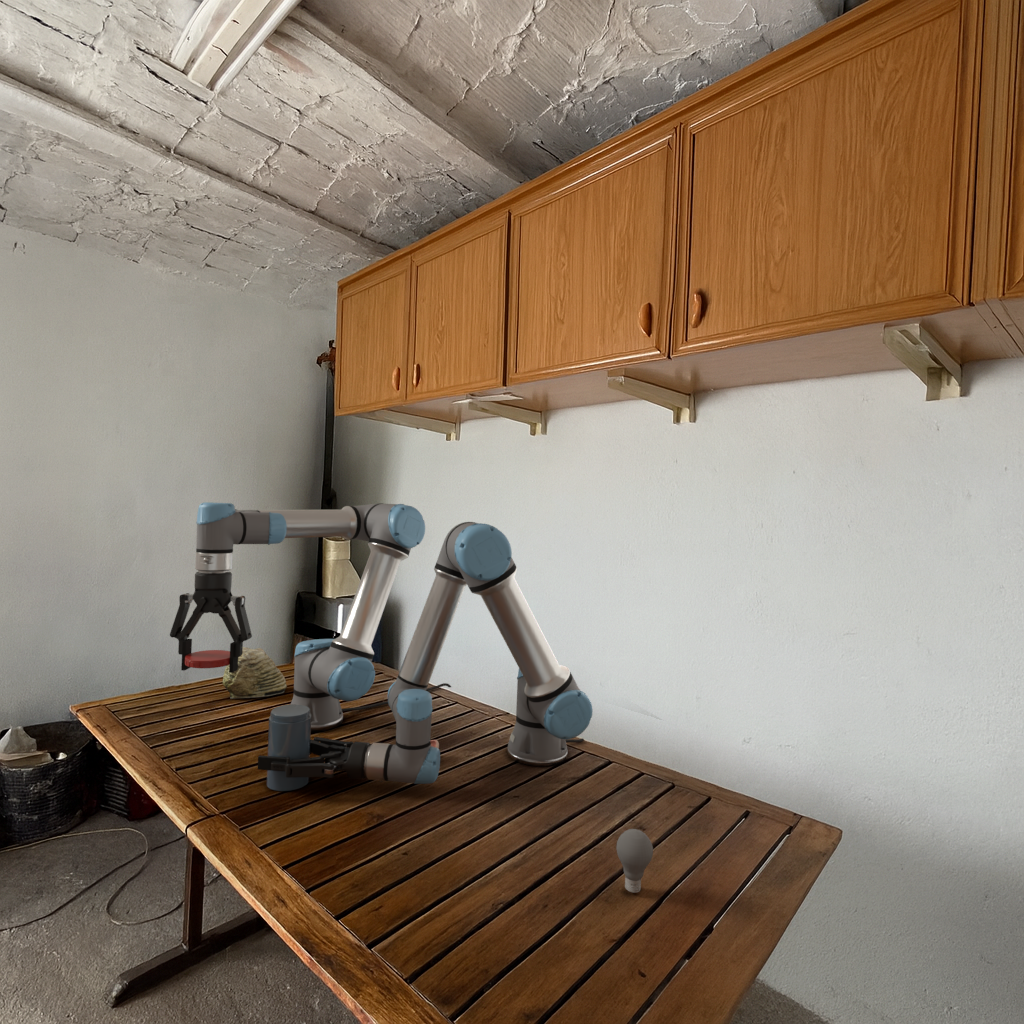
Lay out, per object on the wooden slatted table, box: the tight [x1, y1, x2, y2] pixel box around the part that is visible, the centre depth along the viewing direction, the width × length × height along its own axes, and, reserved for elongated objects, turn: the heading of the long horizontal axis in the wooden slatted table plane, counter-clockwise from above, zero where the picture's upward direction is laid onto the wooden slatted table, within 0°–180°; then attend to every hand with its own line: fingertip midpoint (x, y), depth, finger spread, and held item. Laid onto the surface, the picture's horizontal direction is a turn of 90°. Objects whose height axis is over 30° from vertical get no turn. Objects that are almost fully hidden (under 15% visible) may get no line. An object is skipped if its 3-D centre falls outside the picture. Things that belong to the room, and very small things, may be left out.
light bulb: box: [615, 828, 654, 894], centre depth 106 cm, size 6×6×10 cm
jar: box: [266, 703, 312, 792], centre depth 140 cm, size 9×9×16 cm
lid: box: [185, 649, 230, 669], centre depth 142 cm, size 10×10×2 cm
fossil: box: [222, 646, 288, 699], centre depth 198 cm, size 9×18×15 cm, turn 132°
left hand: (209, 670), depth 142 cm, fingers closed on lid, 10 cm apart
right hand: (268, 753), depth 140 cm, fingers closed on jar, 9 cm apart
